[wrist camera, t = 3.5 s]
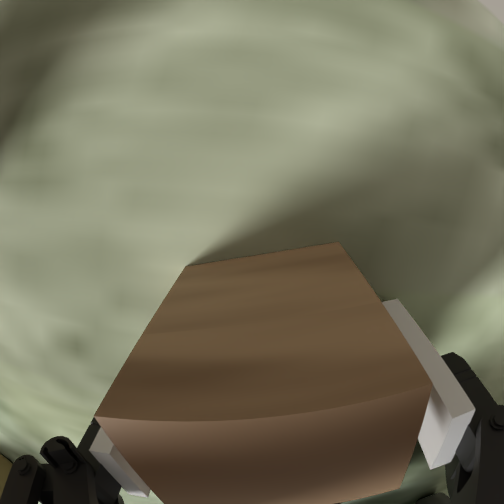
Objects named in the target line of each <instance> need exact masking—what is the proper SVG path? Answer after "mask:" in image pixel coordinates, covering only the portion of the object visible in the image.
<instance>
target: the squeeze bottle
mask: <svg viewBox="0 0 504 504" xmlns="http://www.w3.org/2000/svg"><path fill="white" fill-rule="evenodd" d="M12 465H13V464H12V463H11V462H10V461H9V460H8V459H6V458H5V457H4V456H2V455H1V454H0V498H1V495H2V492H3V489H4V486H5V483H6V481H7V478H8V475H9V472H10V470H11V467H12Z"/></svg>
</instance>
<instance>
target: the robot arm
mask: <svg viewBox="0 0 504 504" xmlns="http://www.w3.org/2000/svg"><path fill="white" fill-rule="evenodd" d="M382 304H383V305H384V307H385V308H386V310H387V311H388V313H389V314H390V316H391V317H392V319H393V320H394V322H395V323H396V325H397V326H398V328H399V329H400V331H401V332H402V334H403V336H404V337H405V339H406V340H407V342H408V343H409V345H410V347H411V348H412V350H413V351H414V353H415V355H416V356H417V358H418V359H419V361H420V363H421V364H422V366H423V368H424V369H425V371H426V373H427V374H428V376H429V378H430V379H431V381H432V383H433V385H432V389H431V394H430V398H429V402H428V405H427V409H426V413H425V416H424V420H423V423H422V427H421V430H420V433H419V436H418V440H419V443H420V445H421V448H422V450H423V453H424V455H425V458H426V460H427V463H428V465H429V468H430V470H431V469H434V468H437V467H439V466H442V465H444V464H447V463H449V462H451V461H452V459H453V457H454V455H455V453H456V454H457V456H458V458H459V463H458V465H457V466H456V468H455V470H454V471H453V473H452V475H451V478H450V479H453V478H454V477H455V475H456V477H455V483H454V490H453V495H452V501H451V504H504V406H502V405H497V403H496V402H495V401H494V399H493V398H492V397H491V395H490V394H489V392H488V391H487V389H486V388H485V387H484V385H483V384H482V383H481V381H480V380H479V378H478V377H476V374H475V373H474V372H473V370H471V368H470V366H469V365H468V364H467V362H466V361H465V360H464V359H463V358H462V357H460V356H458V355H457V354H455V353H454V352H452V353H448V354H445V355H442V356H440V355H439V353H438V352H437V350H436V349H435V348H434V346H433V345H432V343H431V342H430V341H429V339H428V338H427V337H426V335H425V334H424V333H423V331H422V330H421V328H420V327H419V326H418V324H417V323H416V322H415V320H414V319H413V318H412V316H411V315H410V314H409V313H408V311H407V310H406V309H405V307H404V306H403V305H402V303H401V302H400V301H399V300H398V299H394V300H389V301H384V302H382ZM40 454H41V455H42V456H43V458H44V459H45V460H46V461H47V462H48V463H49V464H40V463H39V462H38V461H37V460H36V459H35V458H34V457H33V456H31V455H23V456H21V457H19V458H18V459H17V460H16V461H15V462H14V463H13V465H12V467H11V470H10V472H9V475H8V478H7V481H6V483H5V486H4V489H3V492H2V495H1V498H0V504H38V501H39V502H40V503H42V504H124V501H123V499H122V497H121V496H120V495H119V492H120V489H121V487H122V488H123V489H124V490H125V491H126V492H127V493H128V494H130V495H136V496H142V497H148V496H149V493H150V488H149V487H148V486H147V485H146V484H145V482H144V481H143V480H142V479H141V478H140V477H139V475H138V474H137V473H136V472H135V471H134V469H133V468H132V467H131V466H130V465H129V463H128V462H127V461H126V460H125V458H124V457H123V456H122V455H121V453H120V452H119V451H118V449H117V448H116V447H115V445H114V444H113V443H112V441H111V440H110V439H109V437H108V436H107V435H106V433H105V432H104V430H103V429H102V427H101V426H100V425H99V423H98V422H97V420H96V419H95V417H94V418H93V420H92V421H91V425H89V427H88V429H87V431H86V432H85V434H84V436H83V438H82V440H81V442H80V444H79V445H78V447H77V448H76V447H75V445H74V444H73V443H72V442H71V441H70V440H69V438H67V437H64V436H57V437H54V438H51V439H50V440H48V441H47V442H45V444H44V445H43V446H42V448H41V451H40Z"/></svg>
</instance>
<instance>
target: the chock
mask: <svg viewBox="0 0 504 504" xmlns="http://www.w3.org/2000/svg"><path fill="white" fill-rule="evenodd" d="M432 385H433V383H432V381H431V379H430V378H429V376H428V374H427V373H426V371H425V369H424V368H423V366H422V364H421V363H420V361H419V359H418V358H417V356H416V355H415V353H414V351H413V350H412V348H411V347H410V345H409V343H408V342H407V340H406V339H405V337H404V336H403V334H402V332H401V331H400V329H399V328H398V326H397V325H396V323H395V322H394V320H393V319H392V317H391V316H390V314H389V313H388V311H387V310H386V308H385V307H384V305H383V304H382V302H381V301H380V299H379V298H378V296H377V295H376V293H375V292H374V291H373V289H372V288H371V286H370V285H369V283H368V282H367V280H366V279H365V278H364V276H363V275H362V273H361V272H360V271H359V269H358V268H357V266H356V265H355V264H354V262H353V261H352V259H351V258H350V257H349V255H348V254H347V253H346V251H345V250H344V248H343V247H342V246H341V244H340V243H339V242H334V243H328V244H322V245H316V246H310V247H304V248H297V249H291V250H285V251H279V252H273V253H266V254H260V255H254V256H248V257H242V258H235V259H229V260H223V261H216V262H210V263H204V264H198V265H191V266H186V267H185V268H184V270H183V271H182V273H181V274H180V276H179V277H178V279H177V280H176V282H175V283H174V285H173V286H172V288H171V290H170V291H169V293H168V294H167V296H166V297H165V299H164V300H163V302H162V304H161V305H160V307H159V308H158V310H157V311H156V313H155V315H154V316H153V318H152V319H151V321H150V322H149V324H148V326H147V327H146V329H145V330H144V332H143V334H142V335H141V337H140V339H139V340H138V342H137V343H136V345H135V347H134V348H133V350H132V352H131V353H130V355H129V357H128V358H127V360H126V362H125V363H124V365H123V367H122V368H121V370H120V372H119V373H118V375H117V377H116V378H115V380H114V382H113V383H112V385H111V387H110V389H109V390H108V392H107V394H106V396H105V397H104V399H103V401H102V402H101V404H100V406H99V408H98V409H97V411H96V413H95V415H94V417H95V419H96V420H97V422H98V423H99V425H100V426H101V427H102V429H103V430H104V432H105V433H106V435H107V436H108V437H109V439H110V440H111V441H112V443H113V444H114V445H115V447H116V448H117V449H118V451H119V452H120V453H121V455H122V456H123V457H124V458H125V460H126V461H127V462H128V463H129V465H130V466H131V467H132V468H133V469H134V471H135V472H136V473H137V474H138V475H139V477H140V478H141V479H142V480H143V481H144V482H145V484H146V485H147V486H148V487H149V488H150V489H151V490H152V491H153V492H154V493H155V495H156V496H157V497H158V498H159V499H160V500H161V501H162V502H163V503H164V504H335V503H341V502H346V501H351V500H356V499H361V498H365V497H369V496H373V495H377V494H381V493H385V492H389V491H392V490H396V489H399V488H400V486H401V483H402V481H403V478H404V476H405V473H406V471H407V468H408V465H409V463H410V460H411V457H412V454H413V451H414V448H415V446H416V443H417V439H418V436H419V433H420V430H421V427H422V423H423V420H424V416H425V413H426V409H427V405H428V402H429V398H430V394H431V389H432Z"/></svg>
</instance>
